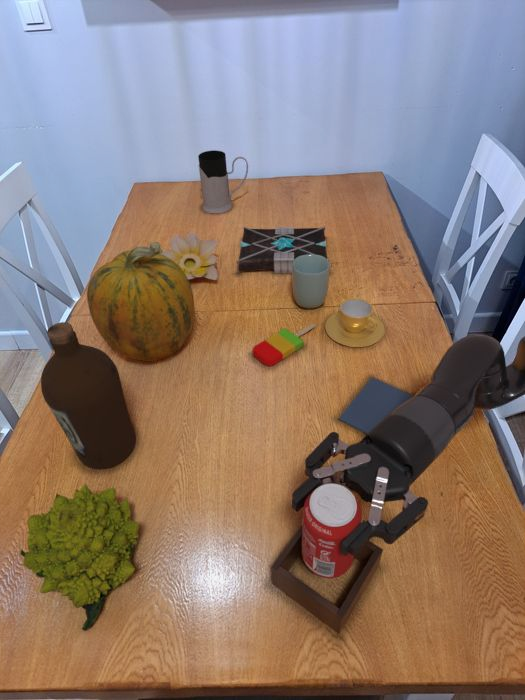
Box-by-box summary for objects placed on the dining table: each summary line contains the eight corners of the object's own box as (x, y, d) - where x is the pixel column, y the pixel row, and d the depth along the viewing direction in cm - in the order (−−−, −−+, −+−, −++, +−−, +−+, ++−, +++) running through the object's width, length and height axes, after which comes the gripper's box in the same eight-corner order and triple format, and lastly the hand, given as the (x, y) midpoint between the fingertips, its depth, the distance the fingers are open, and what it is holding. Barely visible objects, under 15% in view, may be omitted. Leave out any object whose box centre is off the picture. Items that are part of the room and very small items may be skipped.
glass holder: (201, 201, 147) (194, 151, 137) (247, 196, 149) (244, 146, 138) (203, 215, 141) (197, 163, 130) (252, 209, 142) (249, 157, 132)
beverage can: (362, 548, 60) (373, 496, 52) (338, 592, 57) (346, 543, 49) (317, 522, 63) (321, 468, 55) (291, 562, 59) (292, 511, 51)
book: (237, 274, 117) (236, 256, 114) (243, 239, 129) (241, 221, 126) (328, 273, 116) (329, 255, 112) (325, 238, 128) (326, 220, 125)
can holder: (378, 567, 64) (383, 549, 61) (339, 634, 58) (342, 619, 55) (313, 525, 69) (315, 506, 66) (271, 583, 63) (270, 566, 60)
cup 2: (313, 330, 100) (314, 309, 97) (348, 304, 107) (351, 283, 103) (360, 357, 94) (363, 335, 90) (396, 327, 100) (400, 306, 96)
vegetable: (97, 654, 54) (32, 544, 51) (39, 621, 65) (-18, 528, 62) (188, 559, 65) (140, 463, 61) (126, 544, 75) (81, 461, 72)
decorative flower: (150, 287, 111) (147, 244, 106) (159, 271, 121) (156, 231, 116) (217, 289, 111) (216, 246, 107) (219, 272, 121) (219, 232, 117)
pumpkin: (205, 368, 93) (187, 254, 77) (103, 386, 91) (61, 272, 74) (194, 310, 107) (177, 202, 90) (105, 324, 104) (70, 216, 88)
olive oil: (123, 411, 86) (82, 295, 69) (151, 449, 80) (114, 332, 63) (64, 441, 81) (6, 325, 65) (89, 485, 75) (31, 369, 58)
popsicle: (250, 354, 96) (249, 347, 94) (305, 321, 103) (305, 314, 101) (268, 369, 93) (268, 362, 91) (324, 334, 100) (324, 327, 98)
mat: (445, 412, 83) (446, 410, 83) (416, 460, 76) (416, 458, 76) (371, 378, 90) (372, 376, 89) (338, 419, 83) (338, 418, 83)
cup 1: (291, 292, 111) (292, 254, 104) (326, 292, 110) (328, 253, 103) (292, 313, 105) (292, 274, 98) (328, 313, 104) (331, 274, 98)
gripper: (454, 492, 59) (367, 592, 50) (360, 425, 67) (271, 502, 59) (470, 455, 54) (375, 560, 45) (365, 387, 62) (269, 466, 54)
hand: (317, 527), depth 52 cm, fingers closed on beverage can, 6 cm apart
